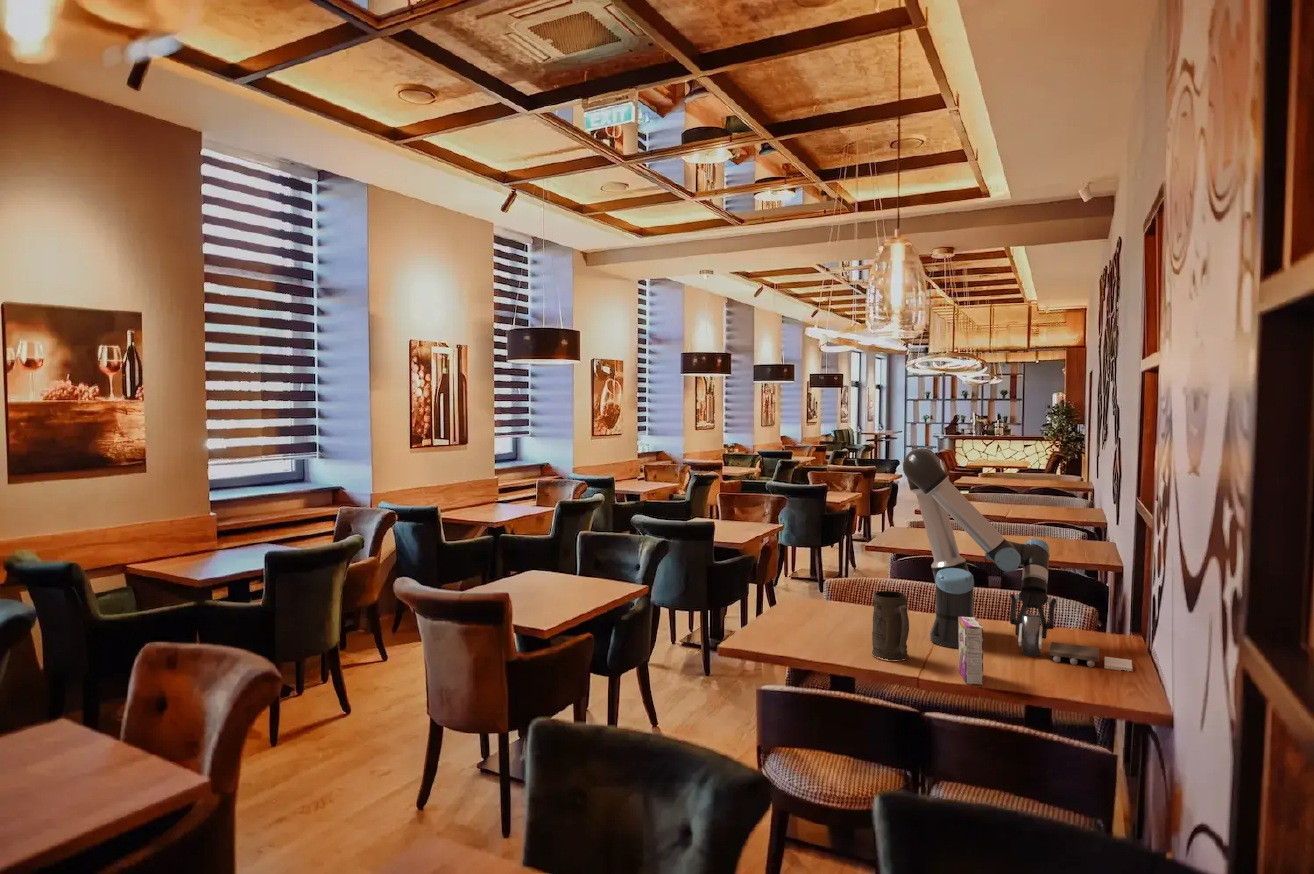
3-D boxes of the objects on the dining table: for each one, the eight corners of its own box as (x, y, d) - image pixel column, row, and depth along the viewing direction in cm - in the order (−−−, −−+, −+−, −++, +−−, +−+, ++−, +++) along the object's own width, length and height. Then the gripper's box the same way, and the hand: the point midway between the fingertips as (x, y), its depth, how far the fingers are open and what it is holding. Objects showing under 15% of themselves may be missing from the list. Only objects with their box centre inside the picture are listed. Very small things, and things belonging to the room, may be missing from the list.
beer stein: (863, 652, 244) (865, 591, 242) (890, 648, 248) (893, 587, 247) (896, 670, 230) (899, 605, 228) (924, 665, 234) (927, 601, 233)
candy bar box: (957, 671, 226) (957, 615, 226) (975, 672, 225) (975, 616, 225) (964, 684, 215) (964, 626, 215) (983, 685, 214) (984, 627, 214)
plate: (1104, 668, 228) (1104, 664, 228) (1104, 659, 236) (1104, 656, 236) (1132, 671, 224) (1132, 668, 224) (1131, 663, 232) (1131, 659, 232)
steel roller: (1021, 654, 241) (1021, 616, 241) (1022, 650, 245) (1023, 613, 245) (1039, 657, 239) (1039, 618, 238) (1040, 653, 243) (1040, 615, 243)
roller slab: (1049, 661, 234) (1049, 651, 234) (1051, 651, 244) (1051, 641, 244) (1098, 668, 228) (1098, 657, 228) (1099, 658, 237) (1099, 647, 237)
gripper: (1066, 591, 250) (1063, 655, 236) (1005, 585, 259) (999, 647, 245) (1065, 578, 245) (1062, 642, 232) (1003, 572, 255) (997, 634, 241)
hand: (1029, 644), depth 239 cm, fingers closed on steel roller, 5 cm apart
